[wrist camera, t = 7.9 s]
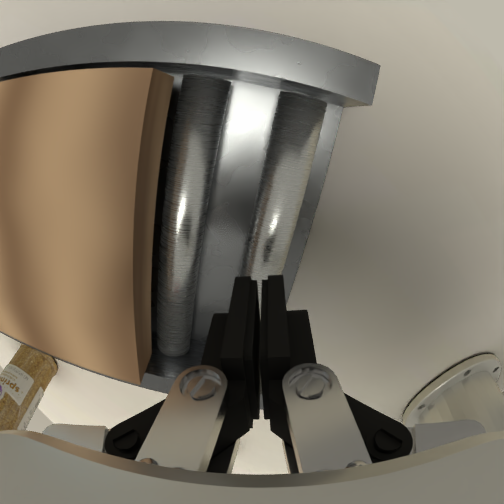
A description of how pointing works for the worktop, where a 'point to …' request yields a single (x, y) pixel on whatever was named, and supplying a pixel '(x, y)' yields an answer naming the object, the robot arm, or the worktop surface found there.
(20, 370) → the sprinkles bottle
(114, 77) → the slab
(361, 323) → the worktop surface
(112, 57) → the roller track
